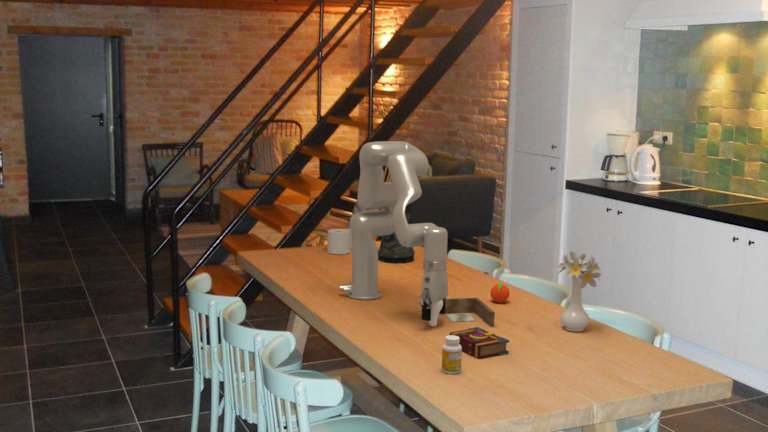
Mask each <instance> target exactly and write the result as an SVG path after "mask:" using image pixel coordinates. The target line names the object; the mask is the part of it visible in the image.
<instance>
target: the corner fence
mask: <svg viewBox="0 0 768 432" xmlns="http://www.w3.org/2000/svg"><path fill="white" fill-rule="evenodd" d="M471 313H474V314H475V315H477V316H478V318H480V319H481V320H482V321H483V322H485V324H486V325H488V326H489V327H490V328H494V327H495V313H496V312H495V311H494V310H493V309H491V307H489V306H488V305H487V304H486V303H484V302H483V301H482V300H481V299H480V298H478V297H461V298H460V297H459V298H457V297H455V298H446V302H445V314H444V315H445V316H446V317H447V318H448V319H449V320H450V321H452V323H459V322H460V323H463V322H476V319H475V318H474V317H473V316H472V315H470V314H471Z"/></svg>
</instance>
